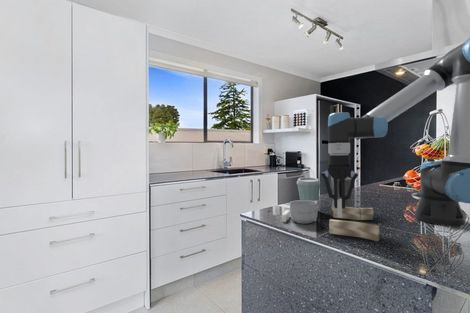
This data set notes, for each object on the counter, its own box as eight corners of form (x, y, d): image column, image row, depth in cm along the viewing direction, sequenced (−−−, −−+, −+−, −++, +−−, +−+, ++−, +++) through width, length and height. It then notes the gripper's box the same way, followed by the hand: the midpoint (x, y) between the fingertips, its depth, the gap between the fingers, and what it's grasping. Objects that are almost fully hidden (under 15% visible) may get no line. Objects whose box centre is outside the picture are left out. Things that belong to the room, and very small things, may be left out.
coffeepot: (332, 206, 123) (332, 170, 122) (353, 208, 119) (353, 170, 118) (328, 214, 109) (328, 173, 109) (352, 216, 105) (352, 174, 104)
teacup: (298, 227, 93) (298, 206, 93) (284, 219, 104) (284, 200, 104) (330, 223, 97) (330, 203, 97) (314, 216, 108) (314, 197, 107)
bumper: (290, 216, 107) (290, 209, 107) (285, 222, 100) (285, 214, 99) (286, 216, 108) (286, 209, 107) (281, 221, 100) (281, 214, 100)
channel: (372, 218, 102) (372, 207, 102) (379, 241, 78) (379, 227, 78) (333, 215, 108) (333, 204, 108) (328, 235, 84) (328, 222, 84)
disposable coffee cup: (325, 212, 112) (325, 179, 112) (303, 214, 110) (303, 180, 109) (313, 207, 123) (312, 176, 122) (292, 208, 120) (292, 177, 120)
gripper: (319, 155, 93) (320, 217, 94) (358, 154, 88) (359, 221, 89) (321, 154, 100) (322, 212, 101) (358, 153, 95) (358, 215, 96)
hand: (339, 216), depth 95 cm, fingers closed
